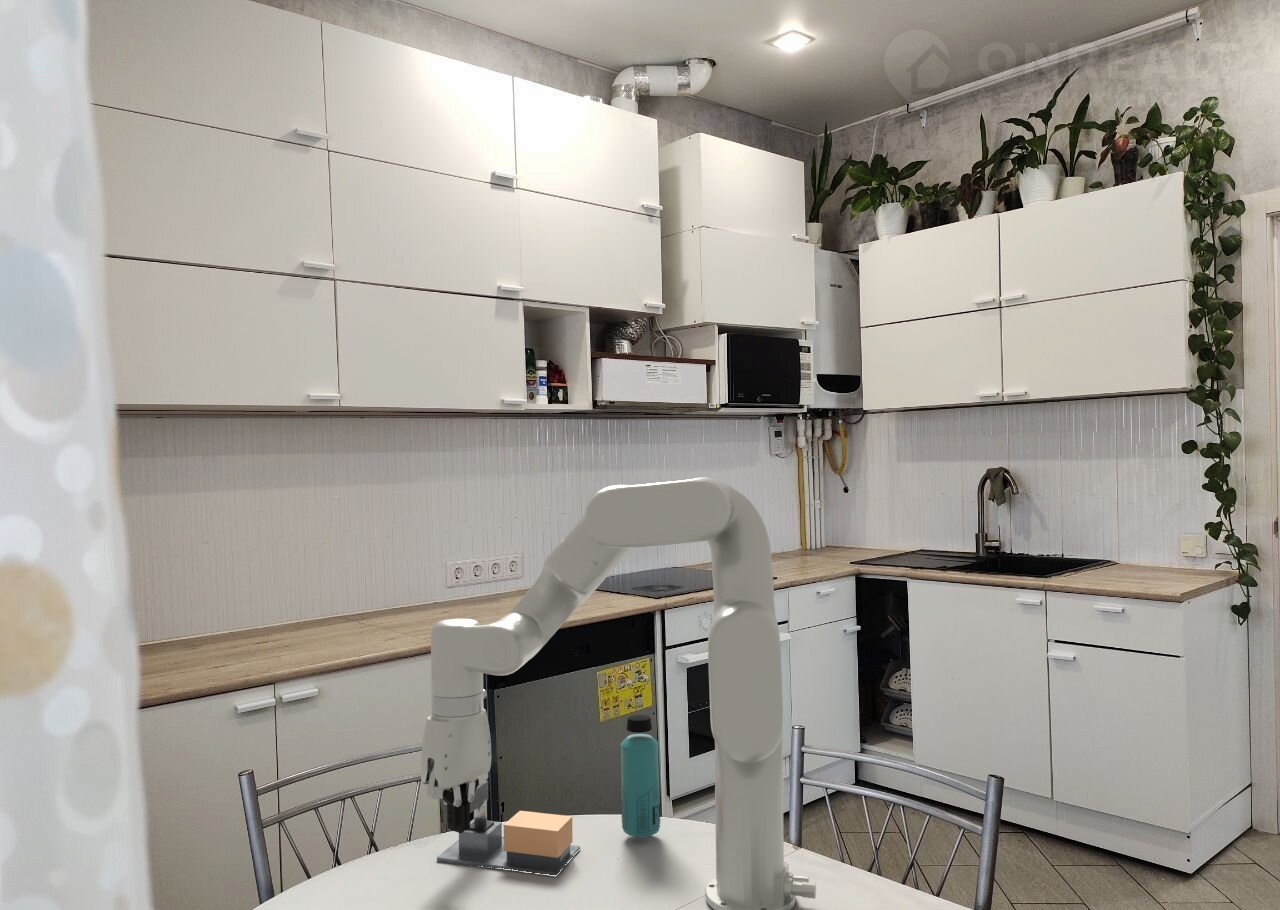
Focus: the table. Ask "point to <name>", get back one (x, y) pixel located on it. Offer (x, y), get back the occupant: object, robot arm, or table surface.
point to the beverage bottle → (640, 779)
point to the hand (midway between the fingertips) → (458, 829)
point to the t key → (475, 805)
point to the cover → (538, 834)
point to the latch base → (499, 852)
